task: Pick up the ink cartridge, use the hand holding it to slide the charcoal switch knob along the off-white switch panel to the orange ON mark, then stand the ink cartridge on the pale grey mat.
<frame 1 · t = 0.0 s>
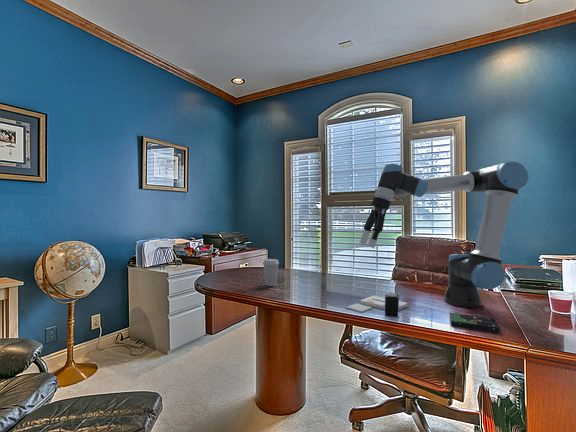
hand: (366, 245, 126), 28 cm above the table, tool tilted 20°, fingers open, 13 cm apart
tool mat: (359, 308, 129), on the table
switch tab: (391, 298, 131), point 4 cm above the table, slide at 0.0 cm
coffee cup: (270, 286, 171), on the table
disk drive: (472, 327, 109), on the table
switch panel: (383, 304, 134), on the table
ink cartridge: (391, 315, 120), on the table
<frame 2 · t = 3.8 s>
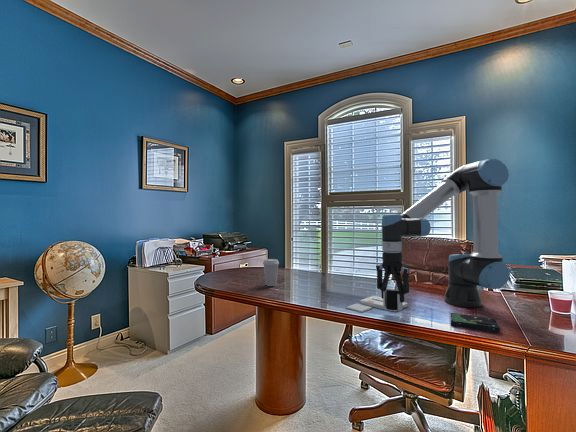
hand: (392, 308, 120), 3 cm above the table, tool pointing down, fingers closed on ink cartridge, 5 cm apart
ink cartridge: (393, 309, 120), point 2 cm above the table, touching gripper
everything else where it was.
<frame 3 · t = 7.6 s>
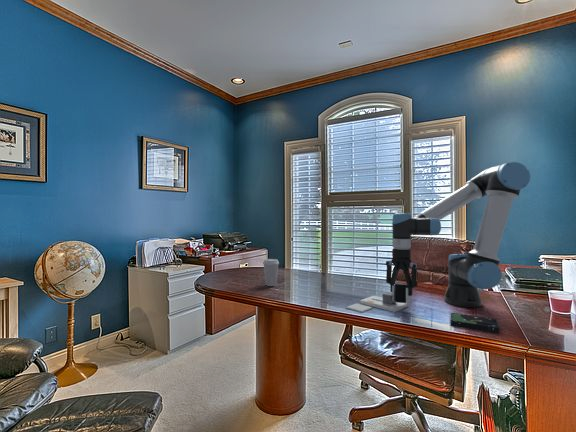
hand: (401, 301, 128), 3 cm above the table, tool pointing down, fingers closed on ink cartridge, 5 cm apart
switch tab: (389, 298, 132), point 4 cm above the table, slide at 1.2 cm, touching gripper
ink cartridge: (401, 302, 128), point 3 cm above the table, touching gripper
everything else where it was.
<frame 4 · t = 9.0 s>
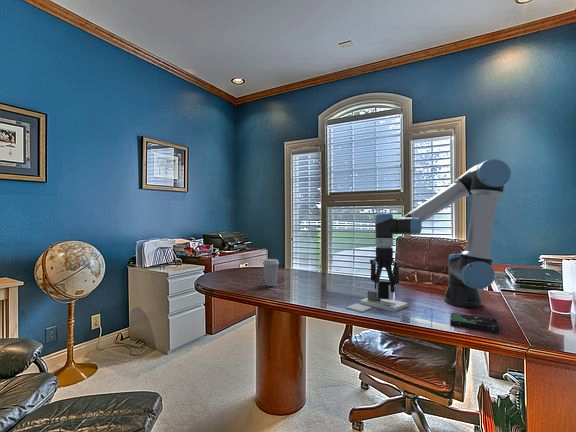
hand: (384, 297, 134), 3 cm above the table, tool pointing down, fingers closed on ink cartridge, 5 cm apart
switch tab: (374, 294, 138), point 4 cm above the table, slide at 8.8 cm, touching gripper
ink cartridge: (384, 299, 134), point 3 cm above the table, touching gripper
everything else where it was.
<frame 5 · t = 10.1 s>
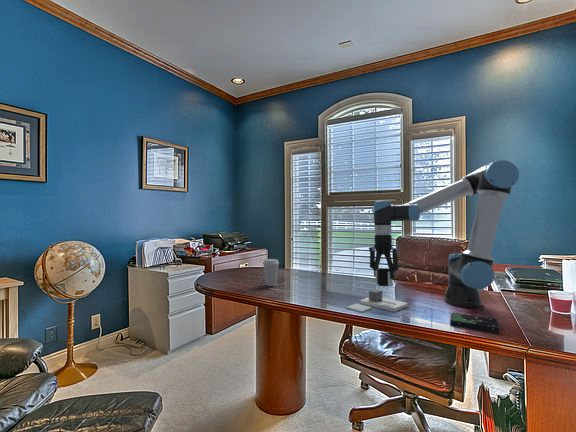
hand: (384, 284, 135), 9 cm above the table, tool pointing down, fingers closed on ink cartridge, 5 cm apart
switch tab: (375, 295, 137), point 4 cm above the table, slide at 8.1 cm
ink cartridge: (384, 286, 135), point 9 cm above the table, touching gripper
everything else where it was.
when the fingers open (1 cm above the table, at t = 15.0 s): ink cartridge stays where it is, resting on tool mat.
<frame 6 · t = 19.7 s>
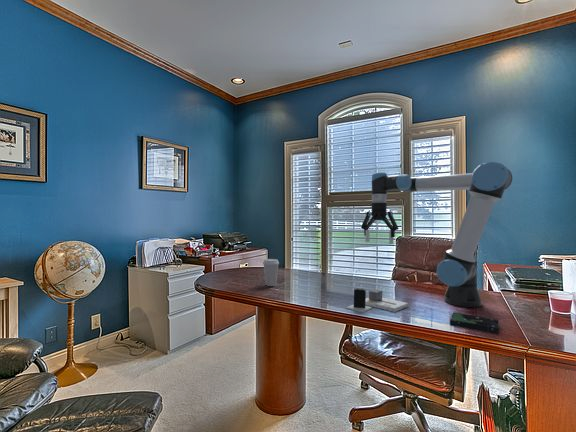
hand: (378, 243, 154), 27 cm above the table, tool pointing down, fingers open, 13 cm apart
ink cartridge: (359, 307, 129), resting on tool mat
everything else where it was.
at the end: switch tab slide at 8.1 cm; ink cartridge inside the target area on the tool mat (0.1 cm from its centre), point 0.4 cm above the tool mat's base; ink cartridge tilted 0° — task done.
